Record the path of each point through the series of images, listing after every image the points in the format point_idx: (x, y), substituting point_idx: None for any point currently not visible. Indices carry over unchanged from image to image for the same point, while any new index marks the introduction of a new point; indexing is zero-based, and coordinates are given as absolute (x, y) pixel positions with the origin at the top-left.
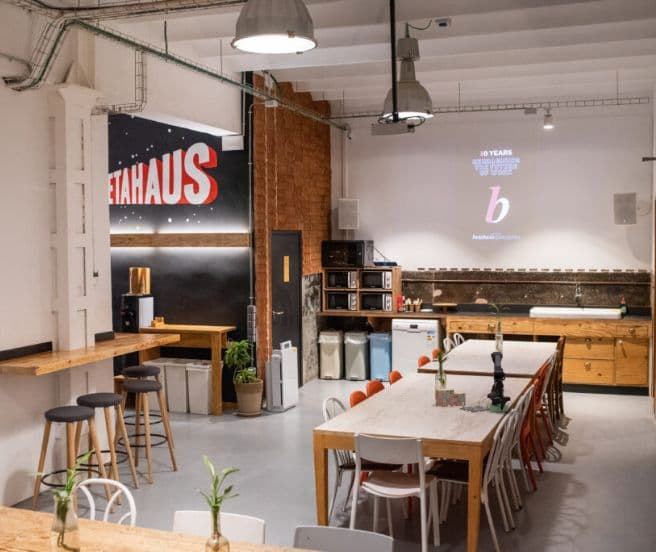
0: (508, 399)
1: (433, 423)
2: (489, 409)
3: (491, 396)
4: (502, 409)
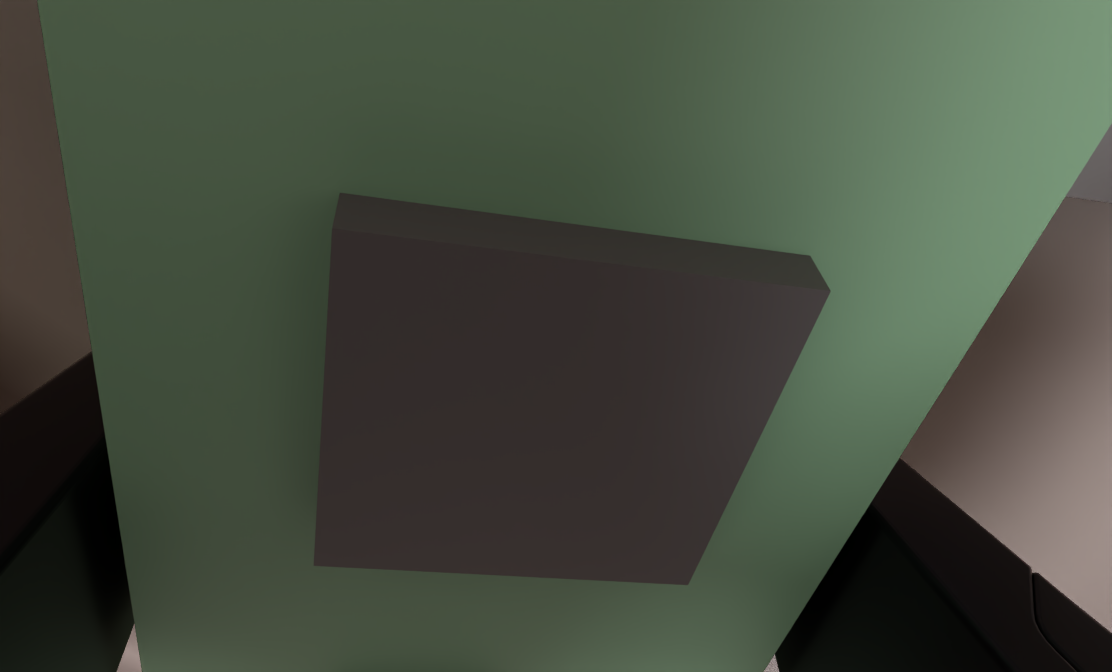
0: None
1: None
2: None
3: None
4: None
